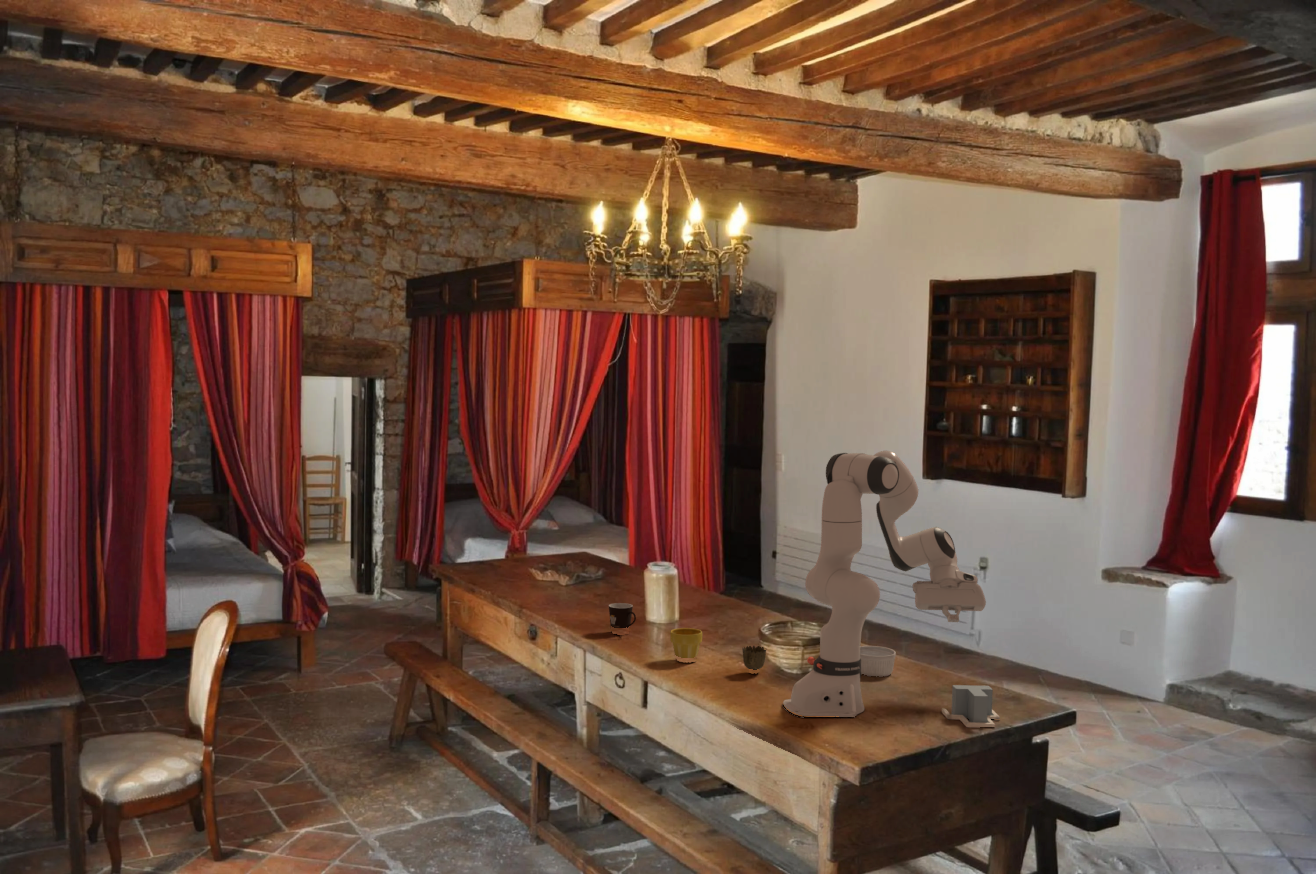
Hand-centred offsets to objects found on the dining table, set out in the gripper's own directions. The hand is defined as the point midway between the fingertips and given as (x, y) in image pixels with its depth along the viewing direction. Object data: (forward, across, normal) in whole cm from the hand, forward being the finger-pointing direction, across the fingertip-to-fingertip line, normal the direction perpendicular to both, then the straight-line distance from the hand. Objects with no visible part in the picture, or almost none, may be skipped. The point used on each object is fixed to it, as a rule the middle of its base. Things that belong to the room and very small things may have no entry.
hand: (953, 621), depth 313 cm
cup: (+2, -56, +30) cm, 63 cm away
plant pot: (-7, -77, +39) cm, 87 cm away
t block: (+31, +1, 0) cm, 31 cm away
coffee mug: (-32, -99, +64) cm, 122 cm away
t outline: (+31, 0, 0) cm, 31 cm away
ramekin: (-1, -18, +33) cm, 37 cm away
